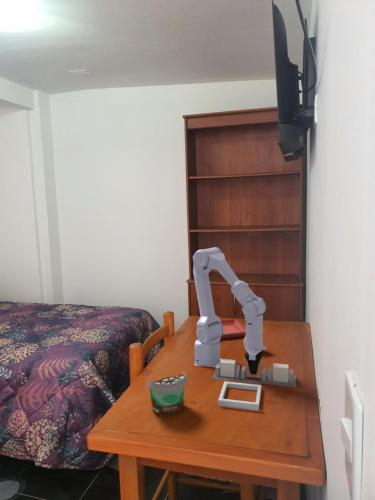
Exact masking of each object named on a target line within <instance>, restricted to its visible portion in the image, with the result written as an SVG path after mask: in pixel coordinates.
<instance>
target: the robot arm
mask: <svg viewBox="0 0 375 500" xmlns="http://www.w3.org/2000/svg"><path fill="white" fill-rule="evenodd" d="M192 260H193V266H192V267H193V269H192V274H193V279H194V285H195V291H196V297H197V298H196V299H197V303H198V309H199V314H200V318H199V319H198V321H197V322H196V333H195V334H196V338H197V339H196V340H195V342H194V349H193V350H194V366H196V367H197V366H199V367H208V368H216V365H217V363H219V364H220V361H221V359H222V358H221V343H220V342H221V340H222V339H221V336H222V335H223V333H224V328H223V326H222V324H221V321H220V320H221V317H219V316H218V315H217V314H216V312H215V306H214V299H213V295H212V294H213V293H212V287H211V281H210V276H209V273H211V270H215V271H217V272H218V273H219V274H220V275H221V276H222V277H223V278H224V280H226V282H227V283H228V284H229V285H230V286H231V288H230V291H231V292H230V293H232V295H233V296H234V297H235V298H236V300H237V301H238V303H239V304H240V305H241V307H242V308H241V311H242V314H243V315H244V320H245V327H246V335H245V336H246V345H245V347H244V349H245V350H246V353H244V358H245V360H246V361H247V362H248V366H249V371H250V374H255V375H256V374H257V370H258V365H259V362H260V360H261V361H262V358H263V355H262V354H263V351H265V350H267V346H266V345H263V342H264V339H263V336H264V335H263V333H264V331H263V329H264V326H263V325H264V324H263V323H264V321H263V320H264V313H265V312H266V310H267V305H266V301H264V298H262V297H259V296H257V294H255V293H254V292H253V291H252V289H251V288H250V287H249V283H247V282H246V281H244V280H240V279H239V278H238V277H237V275H236V274H235V272H234V271H233V269H232V267H231V266H230V264H229V263H228V262H227V260H226V256H225V254H224V253H223V252H222V250H221V249H220V248H219V247H216V246H214V247H211V248H210V247H209V248H205V249H204V248H203V249H198V250H196V252H194V254H193V256H192Z"/></svg>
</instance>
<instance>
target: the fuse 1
mask: <svg viewBox="0 0 375 500" xmlns="http://www.w3.org/2000/svg"><path fill="white" fill-rule="evenodd" d="M220 359H221V361H220V376H227V377H235V374H236V366H237V365H236V364H237V363H236V361H237V360H236V359H230V358H229V359H227V358H220Z"/></svg>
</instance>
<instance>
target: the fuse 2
mask: <svg viewBox="0 0 375 500" xmlns="http://www.w3.org/2000/svg"><path fill="white" fill-rule="evenodd" d="M272 366H273V367H272V374H273V381H277V382H287V383H288V375H289V370H290V369H289V364H286V363H285V364H283V363H274V362H273V364H272Z"/></svg>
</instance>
